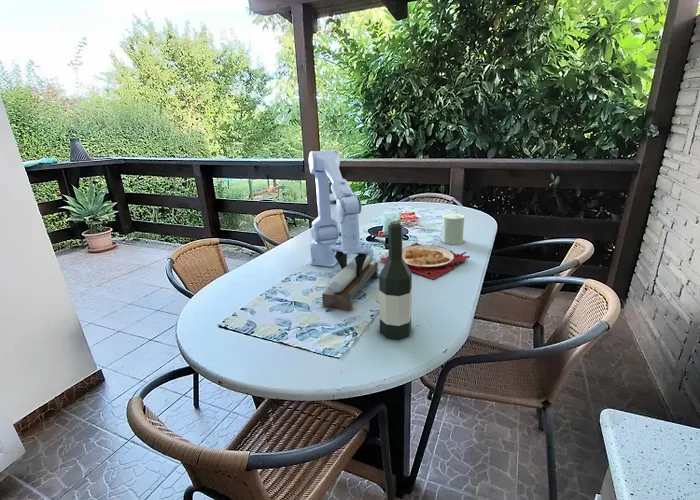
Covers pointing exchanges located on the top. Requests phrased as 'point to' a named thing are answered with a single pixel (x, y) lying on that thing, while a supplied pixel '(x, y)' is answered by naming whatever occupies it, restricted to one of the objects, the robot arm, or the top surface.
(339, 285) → the tube
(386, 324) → the wine bottle
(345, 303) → the wooden display stand
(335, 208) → the coffee press
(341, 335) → the top surface
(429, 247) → the plate with food
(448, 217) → the can
